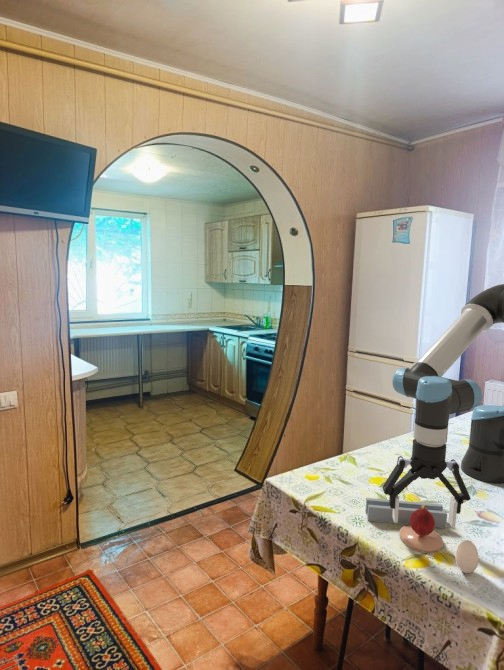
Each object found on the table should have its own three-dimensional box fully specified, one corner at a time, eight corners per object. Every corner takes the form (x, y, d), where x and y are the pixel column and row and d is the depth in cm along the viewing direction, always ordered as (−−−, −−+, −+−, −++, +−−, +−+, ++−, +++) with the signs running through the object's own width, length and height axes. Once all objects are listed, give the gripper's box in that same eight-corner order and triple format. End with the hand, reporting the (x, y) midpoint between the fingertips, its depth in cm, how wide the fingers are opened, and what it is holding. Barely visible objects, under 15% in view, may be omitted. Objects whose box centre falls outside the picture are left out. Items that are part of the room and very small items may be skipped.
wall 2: (444, 525, 114) (445, 511, 114) (445, 527, 113) (447, 513, 112) (367, 518, 117) (368, 504, 116) (367, 520, 115) (368, 506, 115)
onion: (435, 544, 104) (438, 514, 103) (410, 541, 105) (413, 510, 104) (430, 531, 110) (433, 501, 109) (407, 527, 111) (409, 498, 110)
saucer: (435, 530, 112) (435, 526, 112) (448, 554, 102) (448, 550, 102) (395, 526, 113) (396, 522, 113) (404, 550, 103) (404, 546, 103)
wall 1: (440, 517, 118) (441, 504, 117) (441, 520, 116) (442, 506, 116) (365, 511, 120) (366, 497, 119) (365, 513, 119) (366, 500, 118)
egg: (469, 564, 99) (473, 534, 98) (481, 578, 94) (484, 547, 93) (450, 564, 99) (453, 534, 98) (460, 578, 94) (463, 547, 93)
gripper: (478, 438, 106) (470, 517, 109) (374, 432, 109) (369, 509, 112) (490, 450, 99) (482, 535, 102) (379, 443, 102) (374, 526, 105)
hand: (423, 522), depth 107 cm, fingers open, 13 cm apart
